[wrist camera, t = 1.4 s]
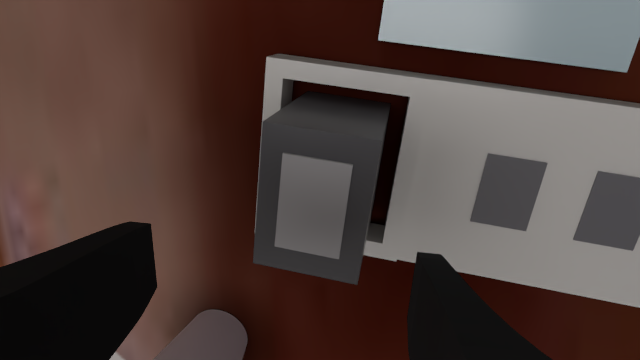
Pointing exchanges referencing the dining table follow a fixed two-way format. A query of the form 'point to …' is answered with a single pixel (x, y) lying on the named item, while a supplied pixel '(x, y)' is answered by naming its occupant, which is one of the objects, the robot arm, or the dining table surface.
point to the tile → (521, 29)
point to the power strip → (501, 178)
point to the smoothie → (208, 339)
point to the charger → (319, 184)
